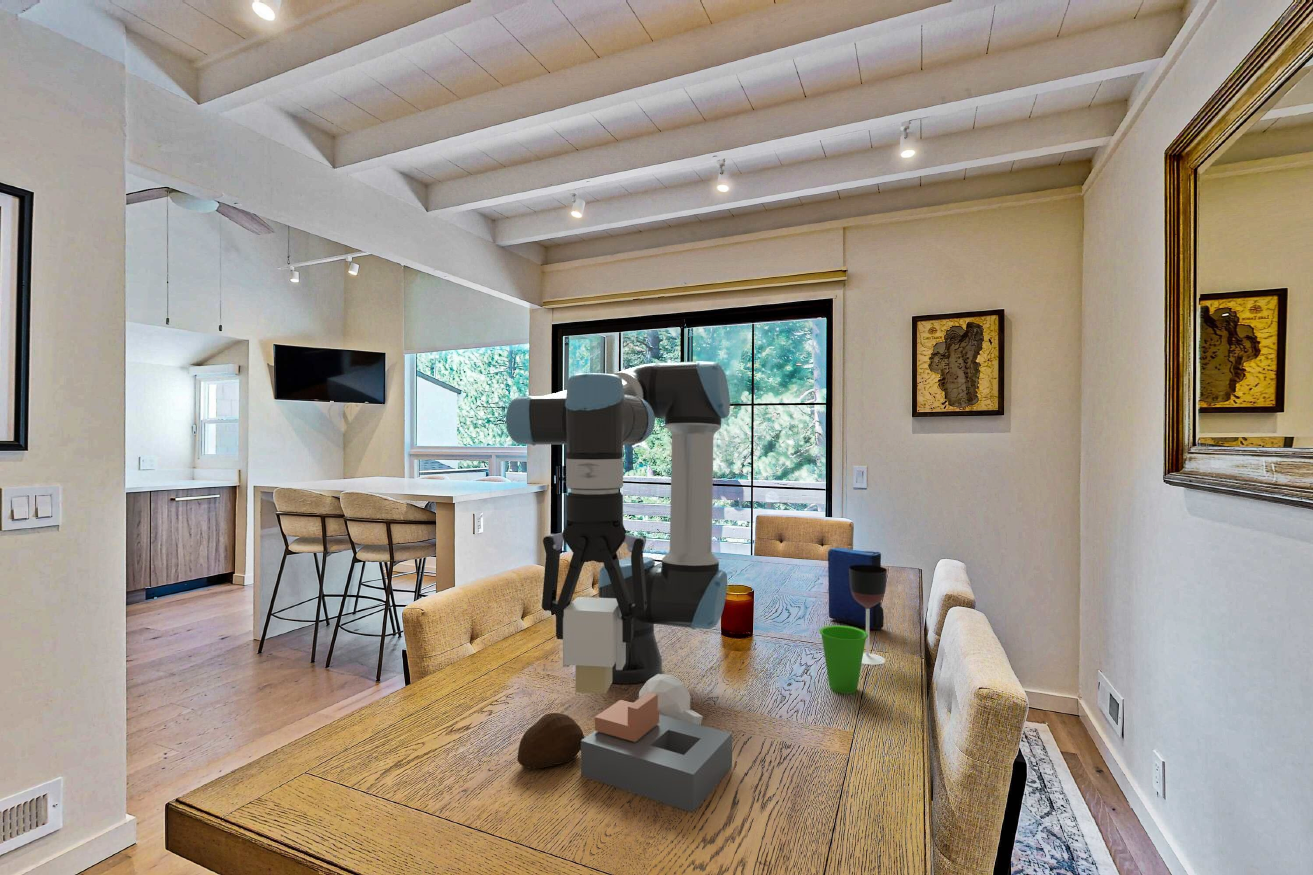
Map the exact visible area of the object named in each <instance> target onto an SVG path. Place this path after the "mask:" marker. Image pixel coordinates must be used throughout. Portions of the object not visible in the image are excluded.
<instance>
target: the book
mask: <svg viewBox="0 0 1313 875" xmlns="http://www.w3.org/2000/svg"><path fill="white" fill-rule="evenodd" d="M881 560H882V553H881V552H879V551H872V550H871V551H870V550H869V551H868V550H865V551H864V550H857V549H849V548H845V547H839V546H837V547H833V548H830V549H828V552H827V571H828V574H827V575H828V576H827V577H828V578H827V579H828V583H827V584H828V617H829V618H830V619H831V620H834V621H837V622H842V623H845V624H850V625H851V626H852V625H853V626H858V627H861V628H866V608H865V607H864V606H863V605H861V604H859V603H858V602H857V601H856V600H855V599H854V597H853V595H852V592H851V588H850V578H849V567H850V566H853V565H874V566H880V567H882V561H881ZM884 616H885V615H884V608H883V607H882V601H881V602H879V603H878V604H877V605H875V606H873V607H871V608H870V617H869V630H870V629H871V630H879V629H883V628H884V622H885V621H884V620H885V619H884V618H885V617H884Z"/></svg>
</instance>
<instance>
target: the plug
mask: <svg viewBox="0 0 1313 875" xmlns="http://www.w3.org/2000/svg"><path fill="white" fill-rule="evenodd" d="M620 614H621V612H620V609H619V606H618V603H617V600H616V598H599V597H589V596H577V597H576V598H575V599H574V600H573V601H571V603H570V605H568V606H567V607H566V608H565V609H564V664H565V665H570V666H575V691H574V692H575V693H578V694H579V693H581V694H593V695H595V694H597V695H598V694H599V695H607V692H608V691H609V688H610V687H611V685H612V684H613V683H612V667H613V666H614V664H615V662H616V619H617V618H618V616H619V615H620Z"/></svg>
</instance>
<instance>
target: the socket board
mask: <svg viewBox="0 0 1313 875" xmlns="http://www.w3.org/2000/svg"><path fill="white" fill-rule="evenodd" d="M732 768H733V732H729V731H725V730H721V729H719V728H714V727H710V726H706V725H698V724H695V723H691V722H687V721H683V720H679V719H675V718H671V717H667V716H663V715H659V723H658V724H657V725H656V726H654V727H653V728H652V729H651V730H649V731H648V732H647V733H646V734H645V735H643V736H642V737H641V738H640V739H638V740H637V741H636V742H633V741H630V740H626V739H623V738H619V737H616V736H612V735H609V734H605V733H602V732H598V731H595V730H594V731H592V732H591V733H589V734H588V735H587V736H584V739H583V740H581V750H580V776H581V777H584V778H587V779H589V780H593V781H596V782H598V783H602V784H604V785H605V784H606V785H608V786H611V787H613V788H614V787H615V788H617V789H619V790H623V791H626V792H629V793H632V794H634V795H638V796H640V797H644V798H646V799H650V800H653V801H656V802H659V803H661V804H665V805H667V806H671V807H673V808H677V809H680V810H682V811H686V812H688V813H692V814H694V813H695V812H696V811H697V810H698V809H699V807H700V806H701V805H702V804H703V802H704V801H705V800H706V799H707V798H708V796H709V795H710V794H711V793H712V791H713V790H714V789H715V788H716V787H717V786H718V784H719V783H720V782H721V781H722V779H723V778H724V777H725V776H726V775H727V774H728V772H729V771H730V770H731V769H732Z"/></svg>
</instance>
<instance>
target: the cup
mask: <svg viewBox="0 0 1313 875" xmlns="http://www.w3.org/2000/svg"><path fill="white" fill-rule="evenodd" d="M819 633H820V634H821V640H822V641H821V642H822V646H823V653H824V658H825V659H824V661H825V667H826V672H827V678H828V679H827V680H828V685H829V687H830V689H831V690H832V691H834V692H836V693H840V694H847V695H848V694H854V693H856V691H857V690H858V688H859V682H860V681H859V680H860V675H861V668H862V664H863V663H862V658H863V653H865V651H864V650H865V647H866V638H867V637H868V635H867V633H866V630H863V629H860V628H858V627H854V626H849V625H841V624H840V625H837V624H836V625H827V626H822V627H821V628H820V629H819Z"/></svg>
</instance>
